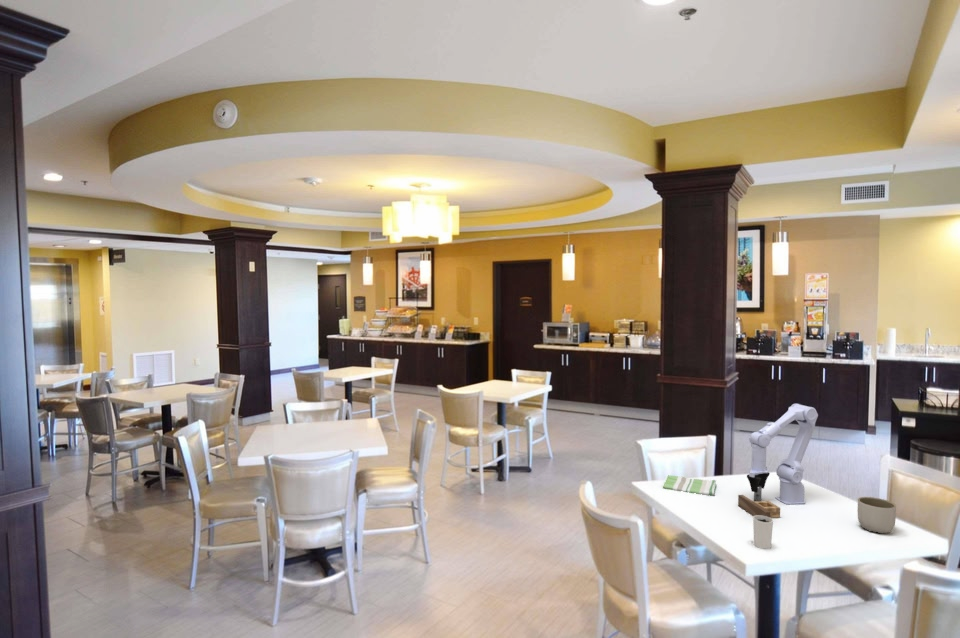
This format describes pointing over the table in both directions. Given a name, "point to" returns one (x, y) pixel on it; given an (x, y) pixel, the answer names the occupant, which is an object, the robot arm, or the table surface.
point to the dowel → (758, 494)
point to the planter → (876, 514)
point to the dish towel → (691, 485)
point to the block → (770, 508)
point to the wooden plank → (751, 506)
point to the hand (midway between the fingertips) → (757, 489)
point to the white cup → (762, 531)
